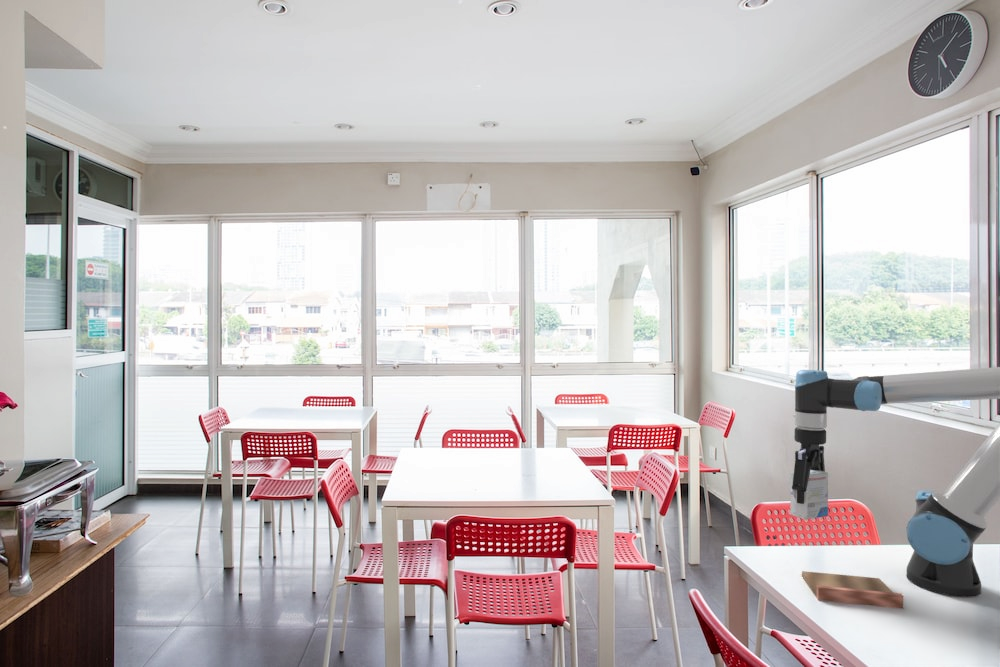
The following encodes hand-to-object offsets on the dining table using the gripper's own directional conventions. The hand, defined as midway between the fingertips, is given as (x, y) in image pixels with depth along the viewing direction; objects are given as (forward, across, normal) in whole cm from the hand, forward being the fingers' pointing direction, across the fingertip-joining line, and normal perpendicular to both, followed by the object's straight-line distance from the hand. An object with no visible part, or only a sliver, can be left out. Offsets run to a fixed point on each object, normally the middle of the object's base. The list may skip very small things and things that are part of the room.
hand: (808, 511), depth 157 cm
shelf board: (+16, +6, +12) cm, 20 cm away
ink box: (+1, 0, 0) cm, 1 cm away
